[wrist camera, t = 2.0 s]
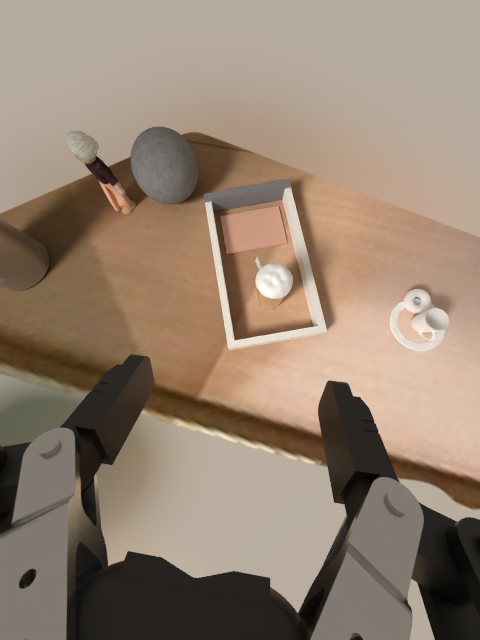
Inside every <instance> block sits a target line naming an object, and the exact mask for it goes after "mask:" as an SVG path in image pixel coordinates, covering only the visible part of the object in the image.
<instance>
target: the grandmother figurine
mask: <svg viewBox="0 0 480 640" xmlns="http://www.w3.org/2000/svg"><path fill="white" fill-rule="evenodd" d="M65 141H66V143H67V145H68V146H69V148H70V149H71V150H72V151H73V152H74V154H75V156H76V157H77V158H78V159H79V160H80V161H81V162H83V163H85V165H86V166H87V168H88V169H89V170H90V171H91V172H92V173H93V174H94V175H95V177H96V178H97V179H98V181H99V183H100V185H101V187H102V189H103V190H104V192H105V194H106V196H107V198H108V200H109V201H110V203H111V204H112V206H113V207H114V209H115V210H116V211H120V209H121V211H122V213H124V214H130V213H131V212H132V210H133V209H134V208H135V206H136V204H135V203H134V202H133V201H131V200H129V198H128V197H127V196H126V195H125V190H124V189H123V188H122V187H121V184H120V183H119V181H118V180H117V178H116V177H114V176H113V173H112V172H111V170H110V168H108V167H107V166H106V165H105V164H104V162H103V161H102V160H101V159H100V158H98V157H97V156H96V153H97V150H98V144H97V142H96V141H95V140H94V139H93V138H92V137H90V136H88V135H86V134H85V133H83V132H81V131H72V132H68V133H67V135H66V137H65Z"/></svg>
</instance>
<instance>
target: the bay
mask: <svg viewBox="0 0 480 640" xmlns="http://www.w3.org/2000/svg"><path fill="white" fill-rule="evenodd" d="M204 200H205V205H206V211H207V217H208V224H209V230H210V236H211V242H212V249H213V255H214V261H215V268H216V274H217V280H218V286H219V293H220V299H221V305H222V312H223V318H224V324H225V331H226V337H227V343H228V349H229V350H234V349H240V348H246V347H251V346H257V345H263V344H269V343H274V342H280V341H286V340H291V339H297V338H303V337H309V336H314V335H320V334H323V333H325V332H327V329H326V325H325V321H324V317H323V313H322V309H321V305H320V301H319V297H318V293H317V289H316V285H315V281H314V277H313V273H312V269H311V265H310V261H309V257H308V253H307V249H306V246H305V242H304V238H303V234H302V230H301V226H300V222H299V218H298V214H297V210H296V206H295V202H294V198H293V194H292V190H291V182H290V179H286V180H281V181H275V182H269V183H263V184H258V185H252V186H246V187H241V188H235V189H229V190H224V191H218V192H212V193H206V194H204ZM278 200H283V204H284V208H285V212H286V216H287V220H288V224H289V229H290V233H291V237H292V241H293V245H294V249H295V253H296V258H297V262H298V266H299V270H300V274H301V278H302V282H303V287H304V291H305V295H306V299H307V303H308V307H309V312H310V316H311V320H312V324H313V327H309V328H303V329H298V330H292V331H286V332H280V333H275V334H269V335H263V336H257V337H252V338H246V339H240V340H235V338H234V332H233V326H232V320H231V314H230V308H229V302H228V296H227V289H226V283H225V277H224V271H223V265H222V259H221V253H220V247H219V241H218V235H217V229H216V223H215V217H214V212H215V211H221V210H227V209H232V208H238V207H244V206H249V205H255V204H261V203H267V202H272V201H278ZM220 218H221V223H222V229H223V235H224V241H225V247H226V252H227V254H233V253H239V252H244V251H250V250H256V249H261V248H267V247H273V246H279V245H284V244H287V240H286V236H285V231H284V227H283V223H282V219H281V214H280V210H279V206H276V207H270V208H264V209H259V210H253V211H247V212H242V213H236V214H230V215H225V216H220Z"/></svg>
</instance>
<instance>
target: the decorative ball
mask: <svg viewBox="0 0 480 640" xmlns="http://www.w3.org/2000/svg"><path fill="white" fill-rule="evenodd" d="M131 168H132V172H133V175H134V177H135V179H136V182H137V183H138V185H139V187H140V188H141V189H142V190H143V191H144V192H145V193H146V194H147V195H148V196H149V197H150V198H152V199H154V200H155V201H157V202H160V203H164V204H177V203H180V202H182V201H184V200H186V199H187V198H188V197H189V196H190V195H191V194H192V193H193V191H194V189H195V187H196V185H197V181H198V175H199V169H198V162H197V159H196V155H195V153H194V151H193V149H192V147H191V146H190V144H189V143H188V142H187V141H186V139H185V138H184V137H183V136H181V135H180V134H179V133H177V132H176V131H174V130H171V129H169V128H165V127H153V128H150V129H147V130H145V131H144V132H142V133H141V134H140V135H139V136H138V137H137V139H136V140H135V142H134V144H133V147H132V151H131Z"/></svg>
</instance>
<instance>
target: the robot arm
mask: <svg viewBox="0 0 480 640" xmlns="http://www.w3.org/2000/svg"><path fill="white" fill-rule="evenodd" d="M49 261H50V259H49V253H48V251H47V249H46V248H45V246H44V245H42V244H41V243H40V242H38V241H36V240H35V239H33V238H31V237H30V236H28V235H27V234H25V233H23V232H22V231H20V230H18V229H17V228H15V227H14V226H12V225H10V224H9V223H7V222H5V221H4V220H2V219H0V287H3V288H6V289H9V290H13V291H20V290H25V289H28V288H31V287H32V286H34V285H36V284H37V283H38V282H39V281H40V280H41V279H42V278H43V277H44V275H45V274H46V272H47V270H48V267H49ZM153 387H154V377H153V372H152V367H151V362H150V358H149V357H147V356H139V355H130V356H129V357H128V358H127V359H126V360H125V362H124V363H123V364H122V365H116V366H114V367H113V368H112V369H110V370H109V371H107V372H106V373H105V374H104V375H103V377H102V378H101V379H100V380H99V381H98V384H96V385H95V386H94V388H93V389H92V390H91V392H89V394H88V395H87V396H86V397H85V398H84V400H83V401H82V402H81V403H80V405H79V406H78V407H77V408H76V409H75V411H74V412H73V413H72V414H71V415H70V417H69V418H68V419H67V420H66V421H65V423H64V424H63V425H62V426H61V427H60V428H56V429H53V430H50V431H47V432H45V433H44V434H42V435H40V436H39V437H38V438H37V439H35V440H34V441H33V442H30V443H24V444H17V445H11V446H5V447H1V446H0V640H409V638H410V633H411V627H412V610H411V607H410V606H409V604H408V601H407V596H408V589H409V585H410V581H411V579H413V580H414V581H416V582H417V583H418V586H419V589H420V593H421V596H422V599H423V602H424V606H425V609H426V612H427V615H428V618H429V622H430V625H431V628H432V632H433V635H434V638H435V640H480V520H478V519H475V518H470V517H468V518H464V519H461V520H460V521H458V522H456V521H454V520H452V519H450V518H448V517H446V516H444V515H442V514H440V513H438V512H436V511H434V510H432V509H430V508H428V507H426V506H424V505H422V504H421V503H419V502H418V501H417V499H416V498H415V496H414V495H413V494H412V493H411V492H410V491H409V490H408V489H407V488H406V487H405V486H404V485H403V484H401V483H400V482H399V480H398V478H397V476H396V474H395V472H394V469H393V467H392V464H391V462H390V459H389V457H388V454H387V452H386V449H385V447H384V444H383V442H382V439H381V437H380V434H378V429H377V427H376V424H375V423H374V419H373V417H372V414H371V412H370V409H369V408H368V406H367V405H366V404H365V403H364V402H363V400H362V399H361V398H360V397H354V396H353V395H352V392H351V390H350V387H349V385H348V383H344V382H337V381H328V382H327V384H326V386H325V389H324V392H323V394H322V397H321V400H320V402H319V407H318V416H319V422H320V427H321V433H322V438H323V444H324V449H325V455H326V460H327V466H328V470H329V476H330V481H331V487H332V493H333V498H334V502H335V503H340V504H345V509H346V514H347V515H346V517H345V519H344V521H343V523H342V525H341V527H340V530H339V532H338V534H337V536H336V538H335V540H334V542H333V545H332V547H331V549H330V551H329V553H328V555H327V557H326V559H325V562H324V564H323V566H322V568H321V570H320V572H319V573H318V575H317V577H316V578H315V580H314V582H313V583H312V586H311V587H310V589H309V591H308V593H307V595H306V597H305V599H304V602H303V604H302V606H301V608H300V610H299V612H298V613H297V612H296V610H295V609H294V608H293V607H292V605H291V604H290V603H289V602H288V601H287V600H286V599H285V598H284V597H283V596H281V595H280V594H279V593H278V592H277V591H275V590H274V589H272V588H271V587H270V578H267V577H262V576H257V575H251V574H246V573H241V572H235V571H233V572H227V573H222V574H217V575H212V576H207V577H202V578H193V577H191V576H190V575H188V574H186V573H185V572H183V571H182V570H180V569H179V568H177V567H175V566H174V565H172V564H171V563H169V562H167V561H166V560H165V559H163V558H161V557H156V556H150V555H145V554H140V553H135V552H129V551H128V552H127V555H126V557H125V560H124V561H121V562H118V563H115V564H112V565H110V566H108V558H107V550H106V544H105V540H104V537H103V534H102V529H101V519H100V507H99V494H98V481H97V473H96V472H97V471H98V469H99V467H100V465H101V464H102V463H103V464H109V465H112V464H113V462H114V461H115V459H116V457H117V455H118V453H119V452H120V450H121V448H122V446H123V444H124V442H125V441H126V439H127V437H128V435H129V433H130V431H131V430H132V428H133V426H134V424H135V422H136V420H137V419H138V417H139V415H140V413H141V411H142V409H143V408H144V406H145V404H146V402H147V400H148V398H149V397H150V395H151V393H152V390H153Z"/></svg>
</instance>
